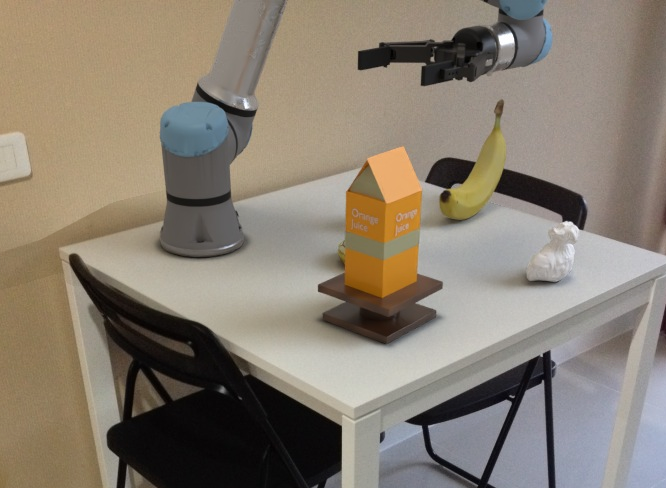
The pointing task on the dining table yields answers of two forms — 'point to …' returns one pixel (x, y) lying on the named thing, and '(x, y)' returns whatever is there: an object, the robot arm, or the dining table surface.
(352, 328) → the stand
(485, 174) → the banana
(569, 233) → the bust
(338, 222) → the dining table surface
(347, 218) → the orange juice
